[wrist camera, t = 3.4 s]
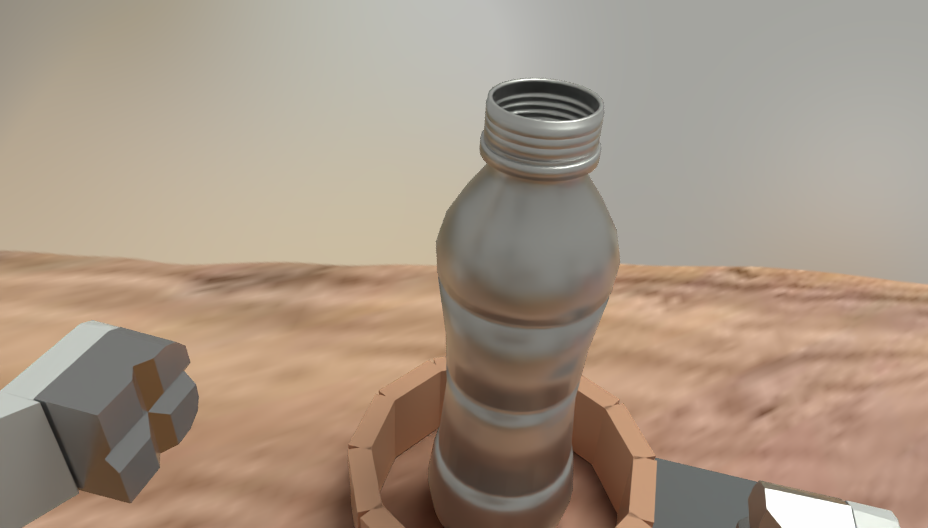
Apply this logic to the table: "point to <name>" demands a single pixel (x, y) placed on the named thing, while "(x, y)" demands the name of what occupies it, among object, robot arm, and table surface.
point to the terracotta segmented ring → (419, 413)
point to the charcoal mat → (698, 497)
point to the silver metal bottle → (521, 307)
